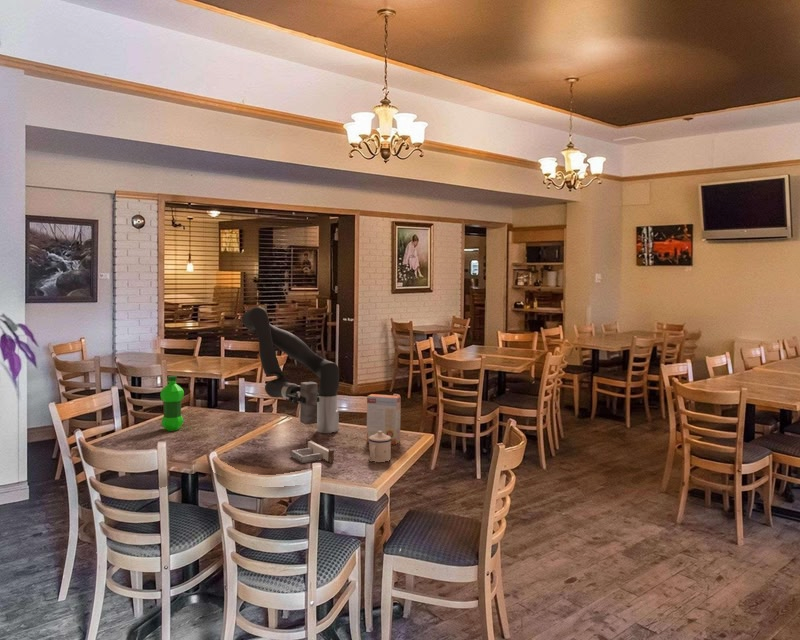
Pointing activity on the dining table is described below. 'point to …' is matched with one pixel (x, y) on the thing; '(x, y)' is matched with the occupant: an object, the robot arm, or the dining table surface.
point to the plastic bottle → (172, 404)
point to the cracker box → (384, 416)
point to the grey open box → (309, 454)
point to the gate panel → (319, 450)
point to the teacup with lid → (379, 447)
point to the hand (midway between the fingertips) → (311, 400)
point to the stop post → (308, 403)
